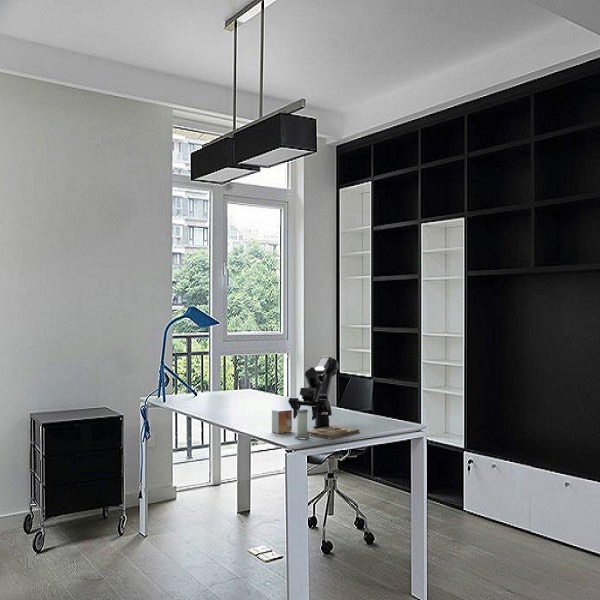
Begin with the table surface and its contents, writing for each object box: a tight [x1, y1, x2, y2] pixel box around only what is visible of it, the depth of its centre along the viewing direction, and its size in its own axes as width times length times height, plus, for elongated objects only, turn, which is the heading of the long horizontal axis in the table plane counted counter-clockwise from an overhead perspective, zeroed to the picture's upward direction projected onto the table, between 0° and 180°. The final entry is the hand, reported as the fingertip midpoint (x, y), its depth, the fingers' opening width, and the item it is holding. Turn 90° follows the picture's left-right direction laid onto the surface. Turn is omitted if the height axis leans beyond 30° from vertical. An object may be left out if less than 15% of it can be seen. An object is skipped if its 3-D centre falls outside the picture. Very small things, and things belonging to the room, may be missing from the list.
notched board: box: [307, 424, 360, 439], centre depth 315 cm, size 16×20×2 cm
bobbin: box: [294, 408, 311, 439], centre depth 306 cm, size 6×6×12 cm
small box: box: [271, 408, 293, 434], centre depth 320 cm, size 8×6×10 cm
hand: (303, 419), depth 306 cm, fingers open, 9 cm apart
